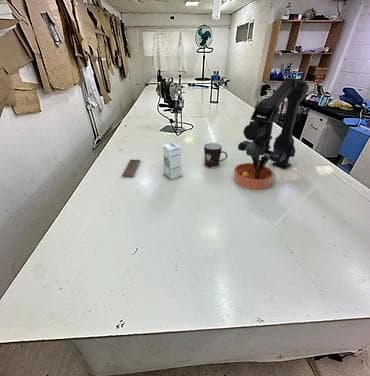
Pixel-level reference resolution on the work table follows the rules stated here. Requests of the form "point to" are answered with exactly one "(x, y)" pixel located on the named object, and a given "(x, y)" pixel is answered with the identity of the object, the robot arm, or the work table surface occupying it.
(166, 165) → the syrup box
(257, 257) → the work table surface
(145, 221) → the work table surface
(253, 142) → the robot arm
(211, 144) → the coffee mug
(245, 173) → the ball
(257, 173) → the stick
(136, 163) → the wooden plank
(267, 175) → the bowl
